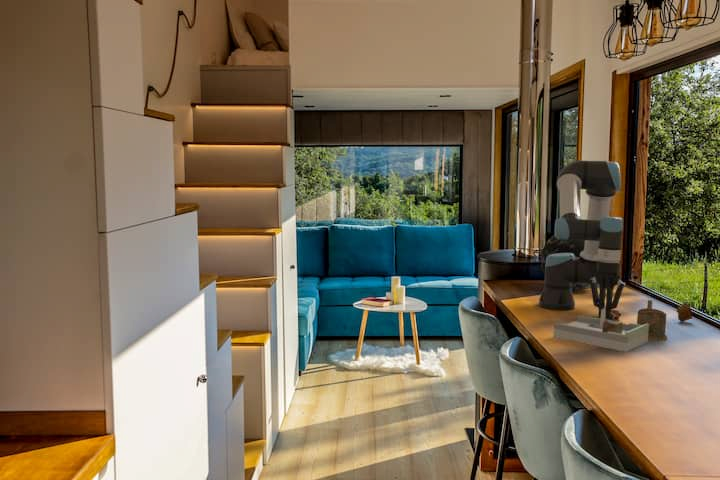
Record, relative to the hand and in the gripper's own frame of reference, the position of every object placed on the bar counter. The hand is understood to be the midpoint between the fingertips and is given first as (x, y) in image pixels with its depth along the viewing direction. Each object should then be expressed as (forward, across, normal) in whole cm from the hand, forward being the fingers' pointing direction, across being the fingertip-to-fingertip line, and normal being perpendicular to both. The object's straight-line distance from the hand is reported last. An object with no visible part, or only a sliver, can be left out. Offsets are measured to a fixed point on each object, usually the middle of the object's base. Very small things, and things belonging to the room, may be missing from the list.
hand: (603, 327), depth 246 cm
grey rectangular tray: (+5, -1, 0) cm, 5 cm away
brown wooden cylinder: (+5, +9, +21) cm, 24 cm away
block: (+2, +3, 0) cm, 4 cm away
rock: (+5, +11, +56) cm, 57 cm away
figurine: (+5, -11, +33) cm, 35 cm away
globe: (+5, -53, +87) cm, 102 cm away
